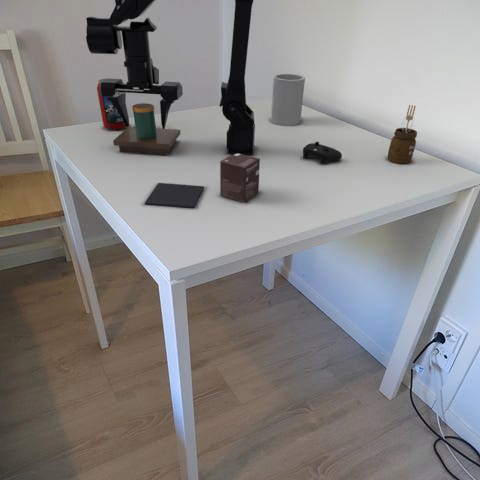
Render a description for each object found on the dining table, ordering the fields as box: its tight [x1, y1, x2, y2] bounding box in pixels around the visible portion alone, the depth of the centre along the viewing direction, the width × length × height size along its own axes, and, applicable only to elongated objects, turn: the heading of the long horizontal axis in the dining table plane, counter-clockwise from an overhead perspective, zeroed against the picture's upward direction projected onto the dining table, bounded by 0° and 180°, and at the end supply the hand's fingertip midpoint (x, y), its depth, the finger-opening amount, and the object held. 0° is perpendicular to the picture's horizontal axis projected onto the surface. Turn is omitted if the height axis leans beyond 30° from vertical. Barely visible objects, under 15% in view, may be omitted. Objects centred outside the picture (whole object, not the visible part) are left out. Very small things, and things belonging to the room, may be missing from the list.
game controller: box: [302, 141, 343, 164], centre depth 106 cm, size 10×5×6 cm
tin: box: [131, 102, 157, 139], centre depth 105 cm, size 5×5×7 cm
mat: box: [144, 182, 205, 209], centre depth 88 cm, size 10×10×1 cm
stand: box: [112, 125, 181, 156], centre depth 109 cm, size 14×12×3 cm
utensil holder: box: [387, 104, 418, 165], centre depth 103 cm, size 6×6×12 cm
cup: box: [270, 73, 306, 127], centre depth 127 cm, size 9×9×12 cm
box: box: [219, 153, 261, 203], centre depth 87 cm, size 6×6×7 cm
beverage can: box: [96, 78, 127, 131], centre depth 118 cm, size 7×7×12 cm
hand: (145, 127), depth 106 cm, fingers open, 9 cm apart
